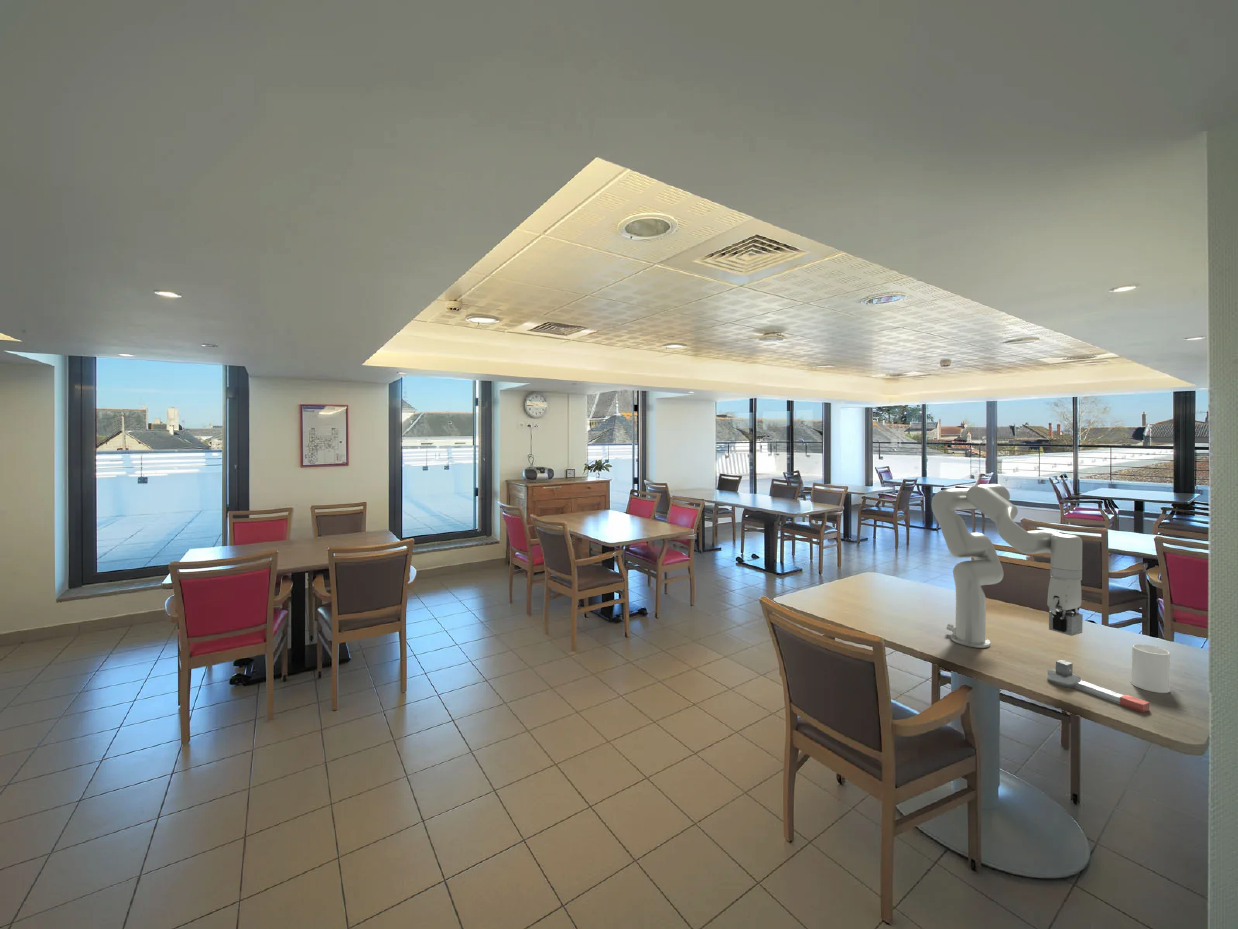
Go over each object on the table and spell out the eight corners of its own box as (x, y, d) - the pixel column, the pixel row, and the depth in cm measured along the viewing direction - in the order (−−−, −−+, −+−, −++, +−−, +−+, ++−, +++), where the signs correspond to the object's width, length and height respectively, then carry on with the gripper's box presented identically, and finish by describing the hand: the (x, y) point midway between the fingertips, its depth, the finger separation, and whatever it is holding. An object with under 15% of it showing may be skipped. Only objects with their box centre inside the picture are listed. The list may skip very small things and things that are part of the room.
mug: (1154, 678, 162) (1155, 642, 161) (1187, 691, 153) (1188, 653, 153) (1122, 681, 160) (1123, 644, 160) (1153, 694, 152) (1154, 655, 151)
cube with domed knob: (1048, 629, 161) (1049, 608, 161) (1059, 626, 163) (1059, 605, 163) (1071, 636, 156) (1071, 613, 155) (1082, 632, 158) (1082, 611, 158)
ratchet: (1041, 679, 162) (1042, 659, 162) (1056, 674, 166) (1056, 655, 165) (1138, 715, 141) (1139, 692, 140) (1153, 708, 144) (1153, 686, 144)
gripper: (1067, 567, 166) (1066, 621, 166) (1036, 573, 159) (1035, 629, 160) (1095, 572, 159) (1094, 628, 159) (1064, 579, 152) (1063, 637, 153)
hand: (1065, 628), depth 160 cm, fingers closed on cube with domed knob, 6 cm apart
